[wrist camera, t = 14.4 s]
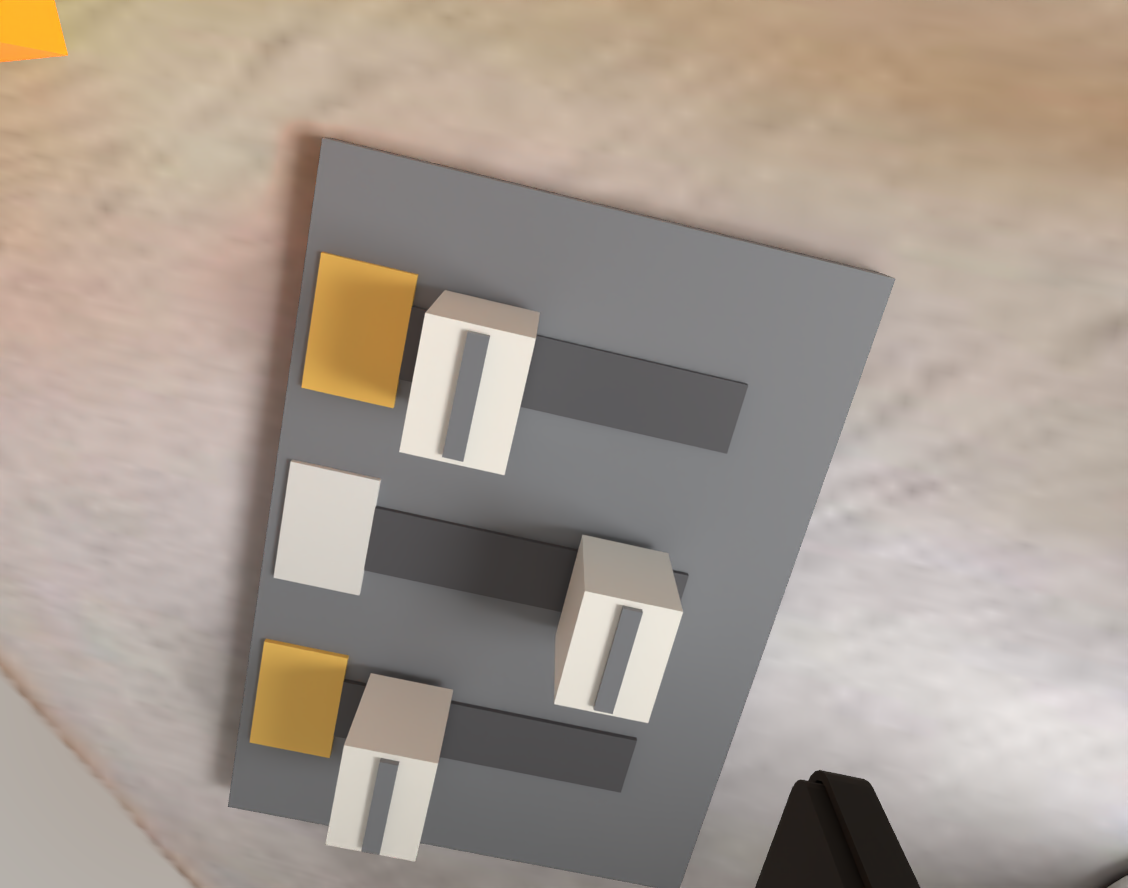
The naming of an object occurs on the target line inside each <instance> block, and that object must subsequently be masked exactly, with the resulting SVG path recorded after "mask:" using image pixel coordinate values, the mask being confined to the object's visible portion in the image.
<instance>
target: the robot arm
mask: <svg viewBox="0 0 1128 888" xmlns="http://www.w3.org/2000/svg"><path fill="white" fill-rule="evenodd" d="M755 888H920V886H919V884H918V882H917V880H916V878H915V876H914V873H913V871H912V869H911V867H910V865H909V863H908V861H907V859H906V857H905V854H904V852H903V850H902V848H901V846H900V844H899V842H898V840H897V837H896V835H895V833H894V831H893V829H892V827H891V825H890V823H889V821H888V818H887V816H886V814H885V812H884V810H883V808H882V806H881V804H880V802H879V799H878V797H877V795H876V793H875V791H874V789H873V787H872V786H871V784H870V783H869V782H868V781H866V780H865V779H861V778H856V777H851V776H846V775H841V774H836V773H831V772H826V771H822V770H819V771H815V772H814V773H813V774H812V775H811V777H810V779H809V781H805V780H798V781H797V782H796V783H795V784H794V786H793V788H792V790H791V793H790V795H789V798H788V801H787V804H786V806H785V809H784V812H783V814H782V817H781V820H780V822H779V825H778V828H777V830H776V833H775V836H774V838H773V841H772V844H771V846H770V849H769V852H768V854H767V857H766V860H765V862H764V865H763V868H762V870H761V873H760V876H759V879H758V881H757V884H756V887H755ZM1107 888H1128V875H1127V876H1125V877H1123V878H1121V879H1120V880H1118V881H1116V882H1115V883H1113V884H1112V885H1110V886H1108V887H1107Z"/></svg>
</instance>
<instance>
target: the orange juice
mask: <svg viewBox="0 0 1128 888" xmlns="http://www.w3.org/2000/svg"><path fill="white" fill-rule="evenodd" d="M65 55H68V54H67V50H66V46H65V42H64V38H63V34H62V30H61V26H60V22H59V18H58V13H57V9H56V5H55V1H54V0H0V62H6V61H16V60H26V59H36V58H45V57H55V56H65Z"/></svg>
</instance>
